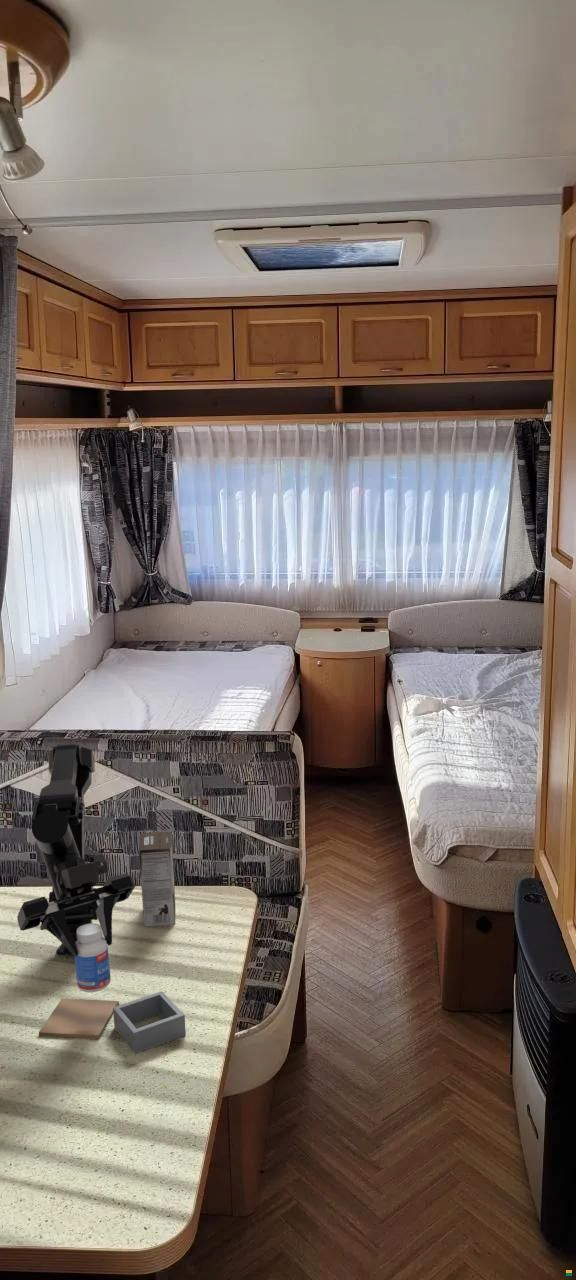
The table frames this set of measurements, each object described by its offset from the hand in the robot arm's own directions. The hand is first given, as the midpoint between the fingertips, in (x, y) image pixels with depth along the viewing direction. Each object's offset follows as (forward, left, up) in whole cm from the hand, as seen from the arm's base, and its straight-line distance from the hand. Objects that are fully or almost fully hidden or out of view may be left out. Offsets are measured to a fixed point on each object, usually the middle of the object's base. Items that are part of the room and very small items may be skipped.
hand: (93, 950), depth 155 cm
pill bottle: (-1, -1, -7) cm, 7 cm away
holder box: (+1, +9, -13) cm, 16 cm away
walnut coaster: (-1, -4, -13) cm, 14 cm away
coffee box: (-39, -1, -13) cm, 41 cm away
